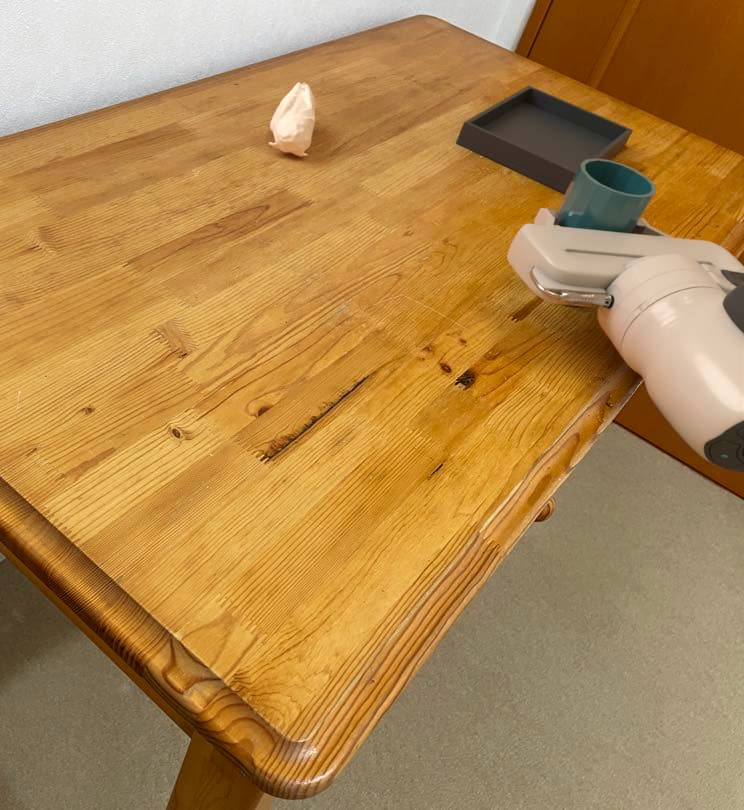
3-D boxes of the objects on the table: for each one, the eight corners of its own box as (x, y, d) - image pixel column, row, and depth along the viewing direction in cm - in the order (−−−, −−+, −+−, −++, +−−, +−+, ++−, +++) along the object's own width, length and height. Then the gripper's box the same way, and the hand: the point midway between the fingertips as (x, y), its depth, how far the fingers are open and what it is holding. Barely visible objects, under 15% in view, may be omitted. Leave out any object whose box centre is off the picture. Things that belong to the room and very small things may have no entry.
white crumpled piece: (261, 129, 102) (266, 147, 93) (284, 73, 99) (291, 86, 90) (299, 144, 103) (307, 164, 94) (323, 89, 100) (334, 104, 91)
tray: (520, 104, 119) (528, 85, 117) (622, 149, 114) (633, 129, 112) (455, 143, 106) (463, 121, 104) (568, 196, 100) (579, 174, 98)
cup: (574, 268, 88) (634, 162, 80) (603, 308, 83) (670, 200, 75) (514, 263, 86) (569, 154, 78) (540, 303, 81) (601, 192, 73)
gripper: (529, 330, 71) (474, 238, 81) (740, 345, 75) (663, 256, 84) (563, 267, 66) (501, 178, 76) (785, 287, 70) (699, 200, 80)
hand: (588, 219), depth 80 cm, fingers open, 8 cm apart
